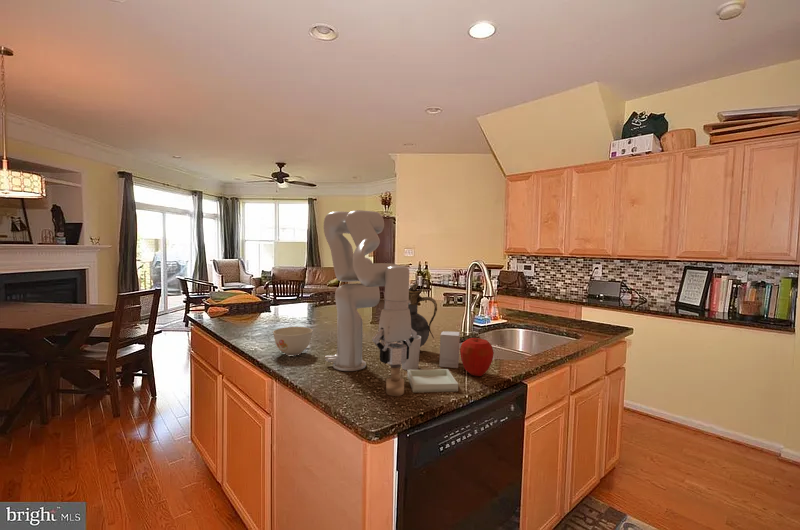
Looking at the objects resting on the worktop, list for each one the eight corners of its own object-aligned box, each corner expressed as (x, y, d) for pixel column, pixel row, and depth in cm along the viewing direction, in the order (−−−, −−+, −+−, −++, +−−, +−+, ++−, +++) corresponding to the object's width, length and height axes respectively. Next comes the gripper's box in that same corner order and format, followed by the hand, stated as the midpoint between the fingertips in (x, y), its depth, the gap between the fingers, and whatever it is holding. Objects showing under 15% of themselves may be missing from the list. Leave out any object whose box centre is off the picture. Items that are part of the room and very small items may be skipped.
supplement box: (458, 368, 145) (459, 335, 145) (438, 366, 147) (439, 334, 146) (459, 362, 153) (460, 331, 152) (440, 361, 154) (441, 330, 154)
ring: (409, 360, 121) (410, 345, 121) (397, 366, 116) (398, 349, 115) (387, 355, 126) (388, 340, 126) (375, 360, 120) (375, 344, 120)
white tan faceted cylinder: (386, 396, 117) (387, 367, 117) (385, 389, 123) (386, 361, 122) (404, 395, 118) (405, 367, 118) (402, 388, 124) (403, 361, 123)
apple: (454, 370, 143) (455, 333, 143) (483, 368, 146) (484, 332, 145) (467, 381, 131) (468, 341, 131) (499, 379, 134) (500, 340, 133)
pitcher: (397, 346, 175) (398, 281, 174) (438, 350, 170) (440, 283, 168) (390, 352, 165) (391, 283, 164) (433, 357, 160) (435, 286, 158)
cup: (405, 372, 140) (406, 340, 139) (396, 366, 147) (396, 335, 146) (424, 369, 143) (425, 338, 143) (414, 363, 151) (414, 333, 150)
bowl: (266, 353, 161) (266, 330, 160) (301, 347, 171) (301, 325, 171) (283, 362, 149) (283, 337, 148) (319, 355, 159) (319, 331, 159)
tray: (413, 392, 121) (413, 384, 121) (407, 376, 135) (407, 369, 135) (458, 391, 122) (458, 383, 122) (447, 375, 137) (447, 369, 137)
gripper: (411, 301, 127) (409, 352, 129) (366, 305, 117) (364, 361, 118) (425, 305, 121) (423, 359, 123) (379, 309, 111) (377, 368, 112)
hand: (394, 359), depth 120 cm, fingers closed on ring, 7 cm apart
